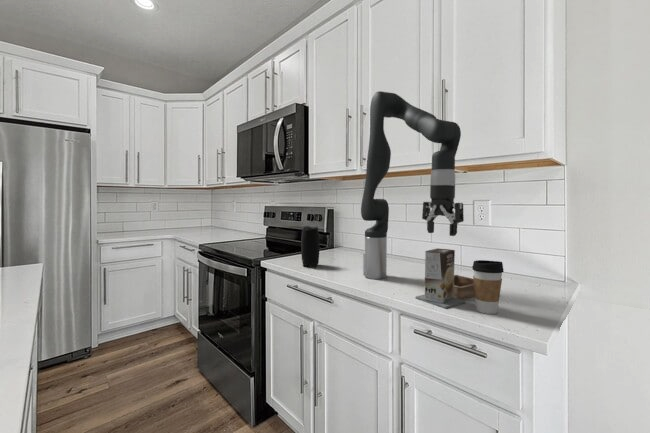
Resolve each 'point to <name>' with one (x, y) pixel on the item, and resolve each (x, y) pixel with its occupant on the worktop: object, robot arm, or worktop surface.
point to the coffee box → (439, 275)
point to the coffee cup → (487, 285)
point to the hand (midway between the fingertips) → (441, 234)
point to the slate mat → (446, 304)
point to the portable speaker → (310, 246)
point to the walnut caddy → (463, 287)
